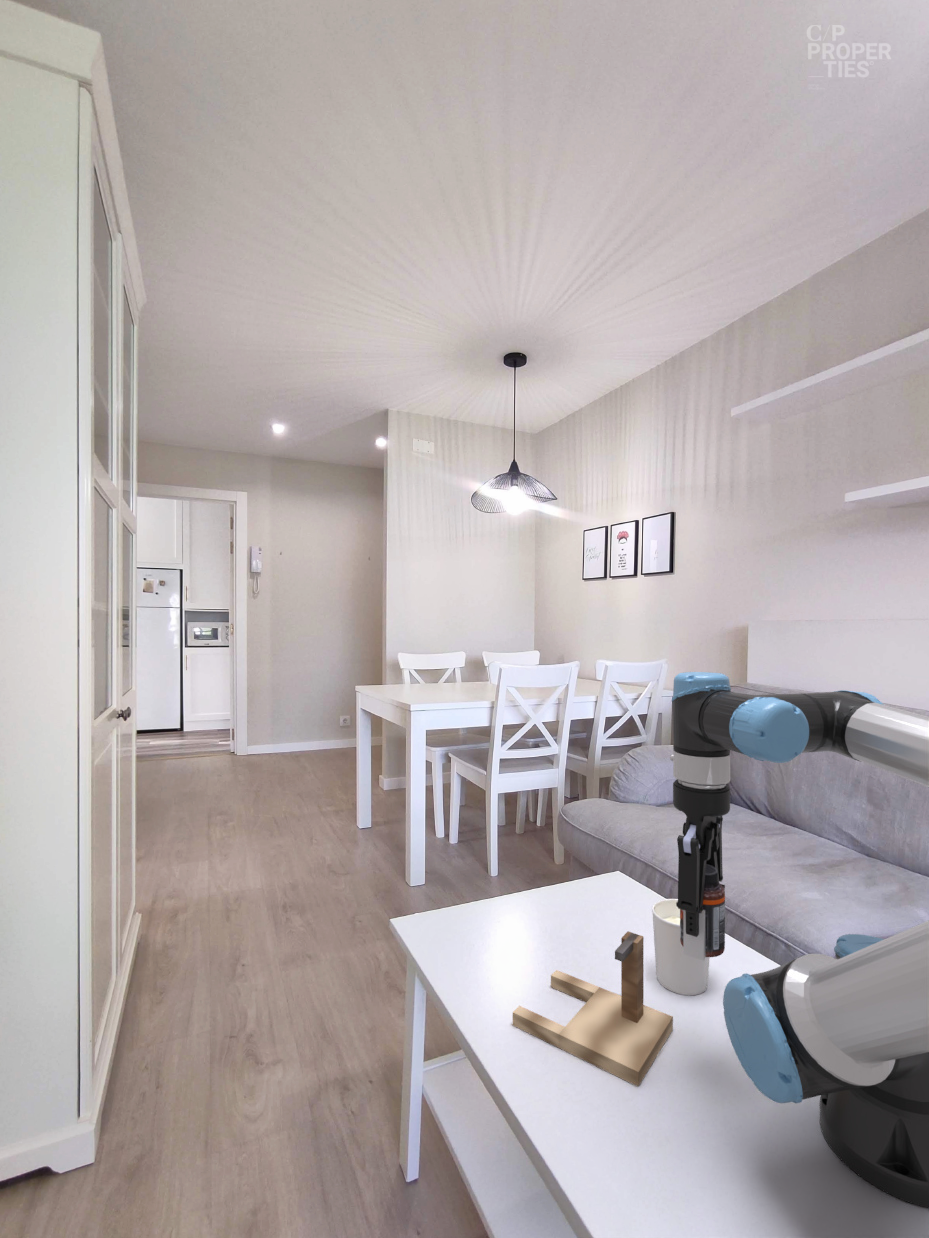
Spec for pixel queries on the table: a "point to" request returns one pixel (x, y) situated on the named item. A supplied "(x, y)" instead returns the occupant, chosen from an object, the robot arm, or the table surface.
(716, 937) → the supplement bottle
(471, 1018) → the table surface
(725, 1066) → the table surface
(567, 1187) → the table surface
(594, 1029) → the oak forked base
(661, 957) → the candle holder
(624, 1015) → the hook post
